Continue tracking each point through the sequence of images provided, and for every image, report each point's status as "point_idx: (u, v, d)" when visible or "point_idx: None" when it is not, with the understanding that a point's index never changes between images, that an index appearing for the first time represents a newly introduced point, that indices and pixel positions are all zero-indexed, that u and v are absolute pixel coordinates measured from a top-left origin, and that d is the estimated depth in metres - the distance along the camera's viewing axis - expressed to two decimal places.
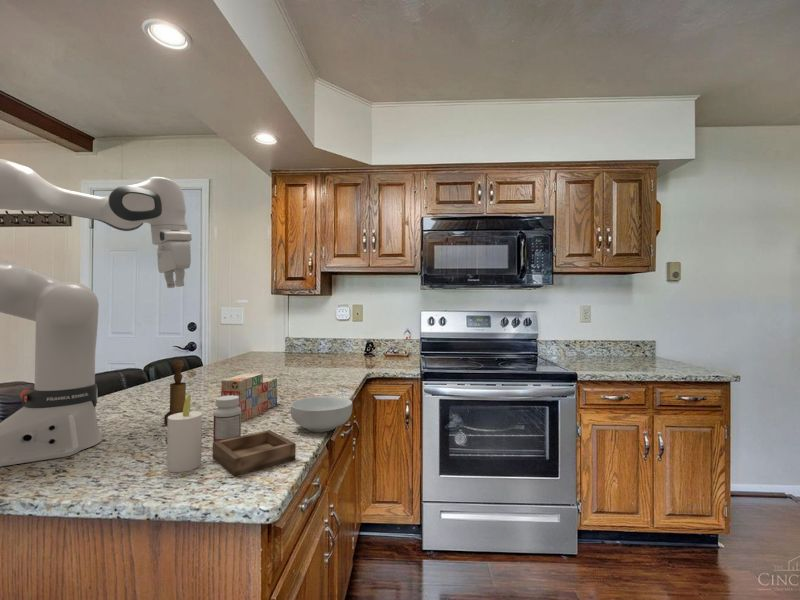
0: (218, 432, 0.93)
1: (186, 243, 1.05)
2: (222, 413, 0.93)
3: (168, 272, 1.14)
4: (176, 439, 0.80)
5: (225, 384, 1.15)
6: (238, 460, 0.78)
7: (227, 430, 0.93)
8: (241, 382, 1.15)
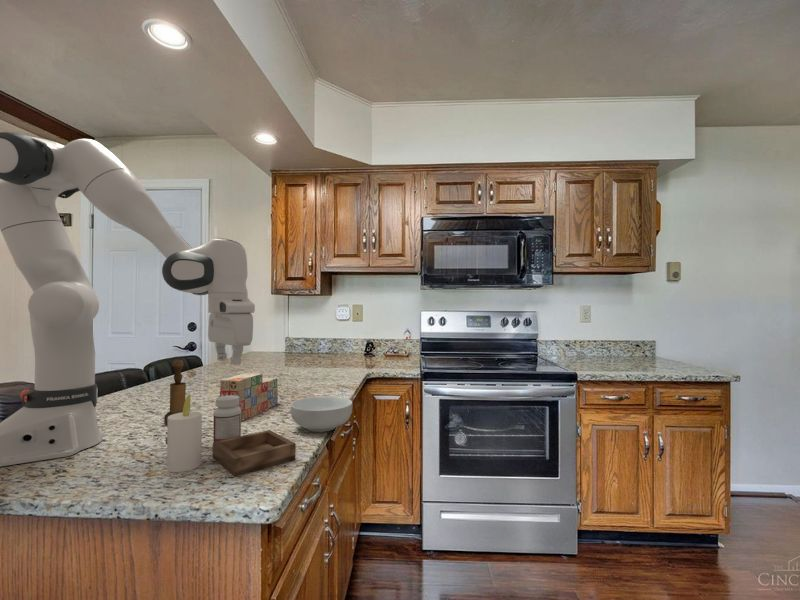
0: (218, 432, 0.93)
1: (249, 316, 0.91)
2: (222, 413, 0.93)
3: (220, 342, 1.00)
4: (176, 439, 0.80)
5: (224, 384, 1.16)
6: (238, 460, 0.78)
7: (227, 430, 0.93)
8: (239, 382, 1.15)
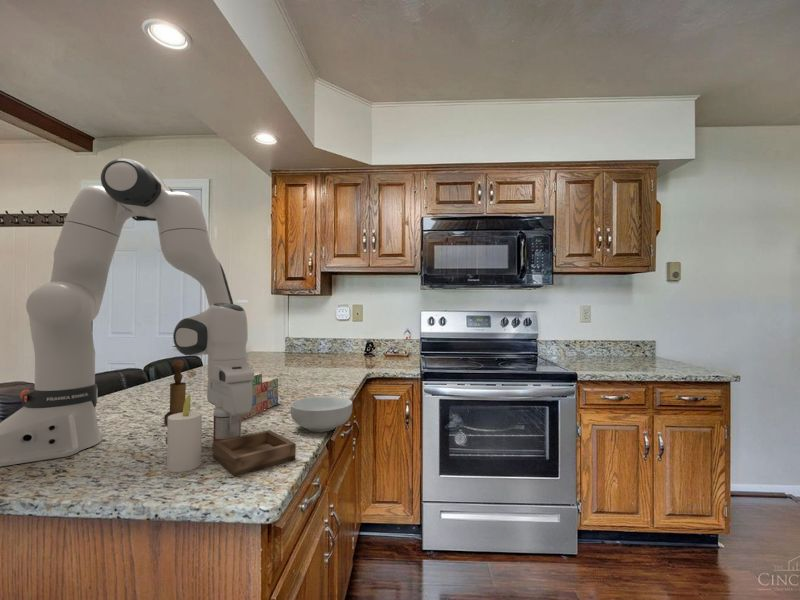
0: (218, 432, 0.93)
1: (249, 385, 0.91)
2: (222, 413, 0.93)
3: None
4: (176, 439, 0.80)
5: None
6: (238, 460, 0.78)
7: (227, 430, 0.93)
8: None
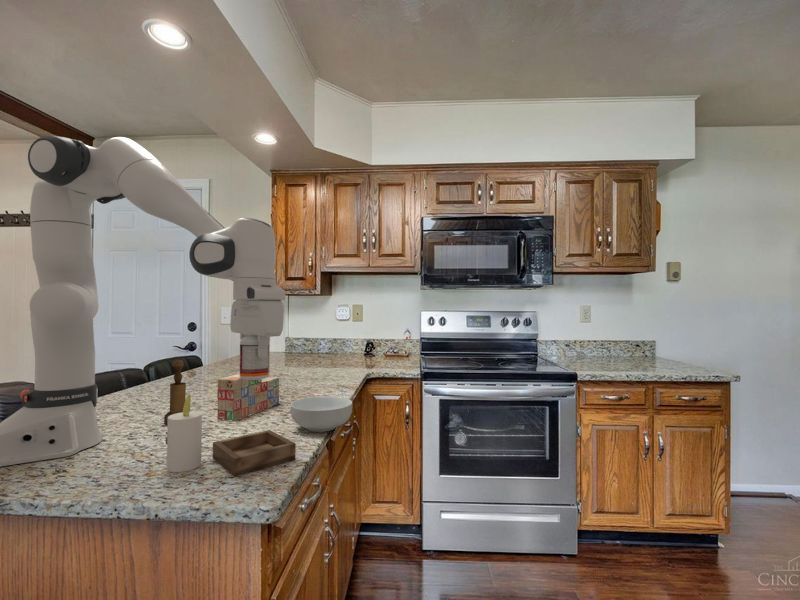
0: (245, 362, 0.84)
1: (280, 304, 0.82)
2: (250, 341, 0.84)
3: None
4: (176, 439, 0.80)
5: (221, 383, 1.17)
6: (238, 460, 0.78)
7: (256, 360, 0.84)
8: (235, 381, 1.16)
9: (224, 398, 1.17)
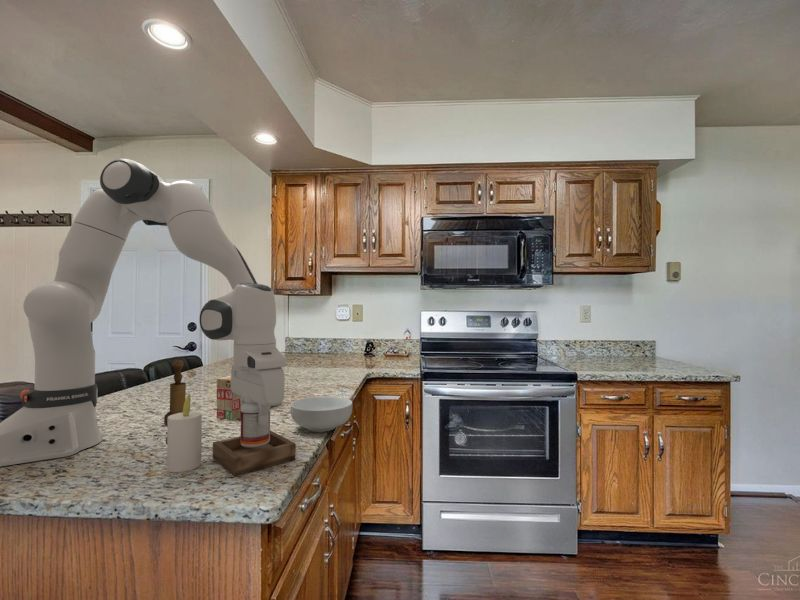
0: (246, 430, 0.84)
1: (280, 372, 0.82)
2: (251, 409, 0.84)
3: None
4: (176, 439, 0.80)
5: (220, 382, 1.18)
6: (238, 460, 0.78)
7: (257, 427, 0.84)
8: None
9: (223, 397, 1.18)
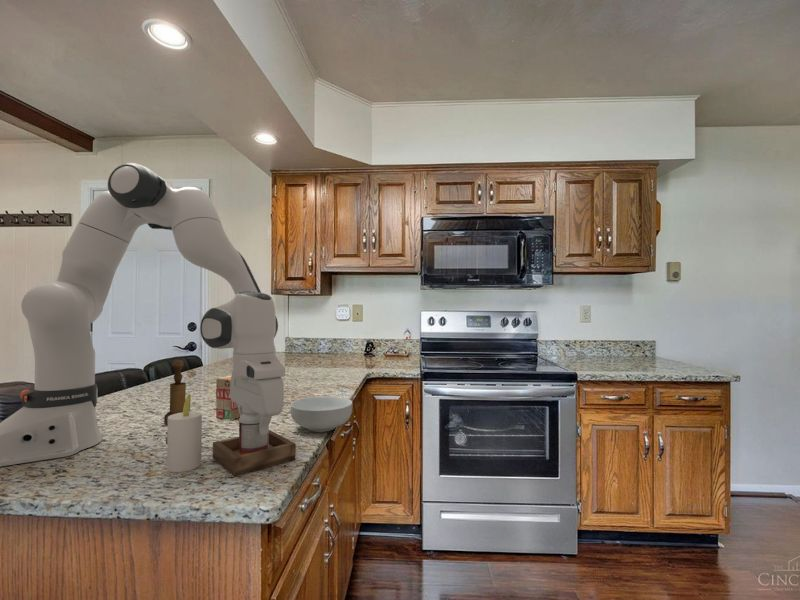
0: (245, 440, 0.84)
1: (279, 381, 0.81)
2: (249, 420, 0.84)
3: None
4: (176, 439, 0.80)
5: (219, 382, 1.19)
6: (238, 460, 0.78)
7: (255, 438, 0.84)
8: None
9: (222, 397, 1.18)
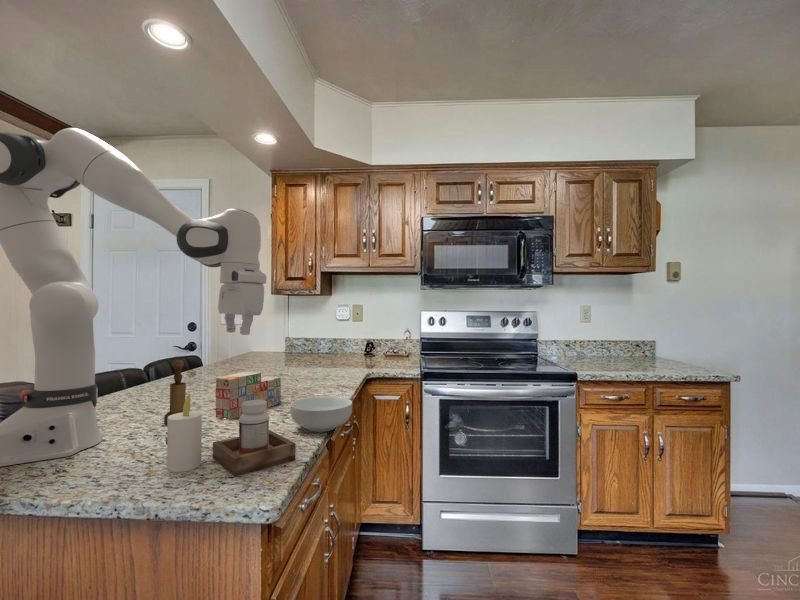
0: (245, 440, 0.84)
1: (261, 286, 0.91)
2: (249, 420, 0.84)
3: (230, 314, 1.00)
4: (176, 439, 0.80)
5: (219, 382, 1.19)
6: (238, 460, 0.78)
7: (255, 438, 0.84)
8: (232, 380, 1.18)
9: (221, 396, 1.19)
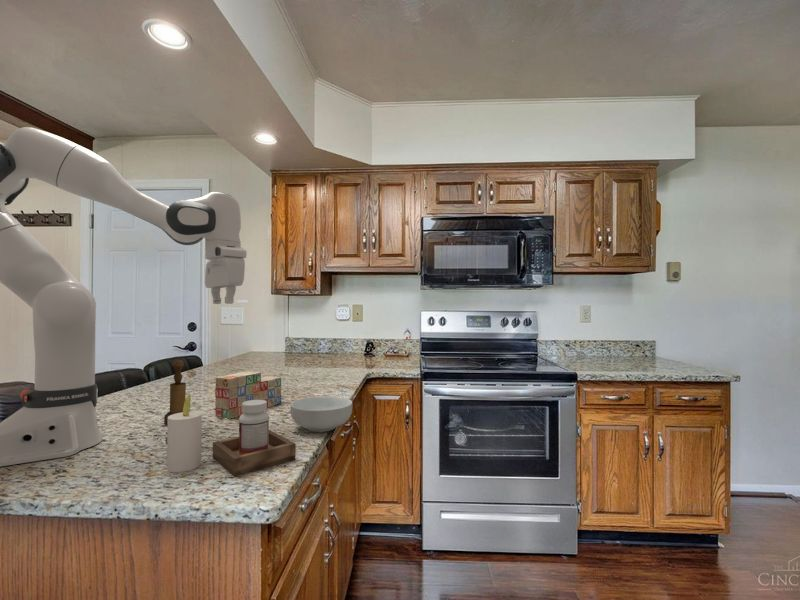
0: (245, 440, 0.84)
1: (241, 260, 1.03)
2: (249, 420, 0.84)
3: (215, 288, 1.12)
4: (176, 439, 0.80)
5: (218, 381, 1.20)
6: (238, 460, 0.78)
7: (255, 438, 0.84)
8: (231, 380, 1.18)
9: (221, 396, 1.19)
